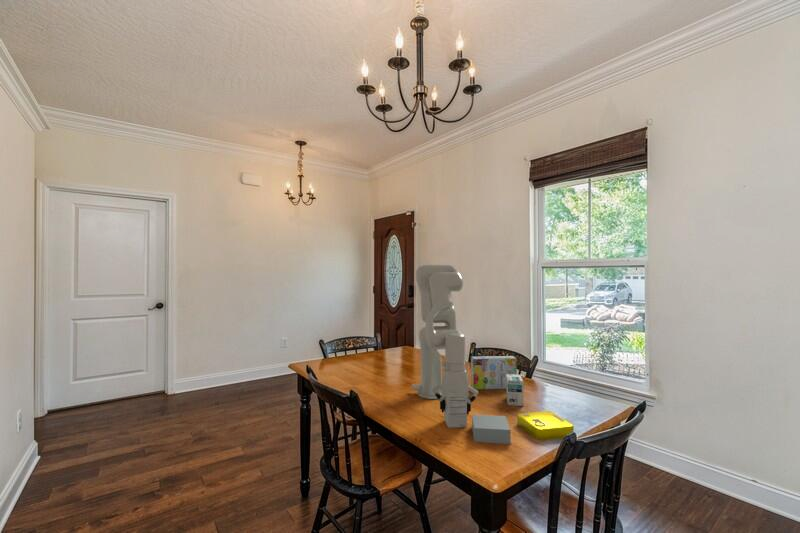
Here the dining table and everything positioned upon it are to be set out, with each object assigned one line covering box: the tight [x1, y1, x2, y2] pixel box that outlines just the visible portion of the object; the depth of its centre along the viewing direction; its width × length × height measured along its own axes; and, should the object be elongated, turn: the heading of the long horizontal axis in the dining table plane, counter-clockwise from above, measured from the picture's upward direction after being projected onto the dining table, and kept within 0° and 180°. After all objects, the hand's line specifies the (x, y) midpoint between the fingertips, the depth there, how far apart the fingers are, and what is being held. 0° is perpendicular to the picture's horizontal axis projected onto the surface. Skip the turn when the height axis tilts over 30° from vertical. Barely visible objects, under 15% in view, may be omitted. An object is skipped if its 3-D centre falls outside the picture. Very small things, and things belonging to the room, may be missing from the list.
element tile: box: [516, 410, 575, 442], centre depth 139 cm, size 15×15×5 cm
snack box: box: [470, 355, 518, 390], centre depth 188 cm, size 21×6×15 cm, turn 92°
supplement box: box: [443, 392, 468, 429], centre depth 145 cm, size 7×7×13 cm
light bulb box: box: [505, 374, 525, 407], centre depth 169 cm, size 11×7×11 cm, turn 168°
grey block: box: [471, 414, 512, 445], centre depth 135 cm, size 12×12×5 cm
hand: (455, 412), depth 145 cm, fingers closed on supplement box, 9 cm apart
